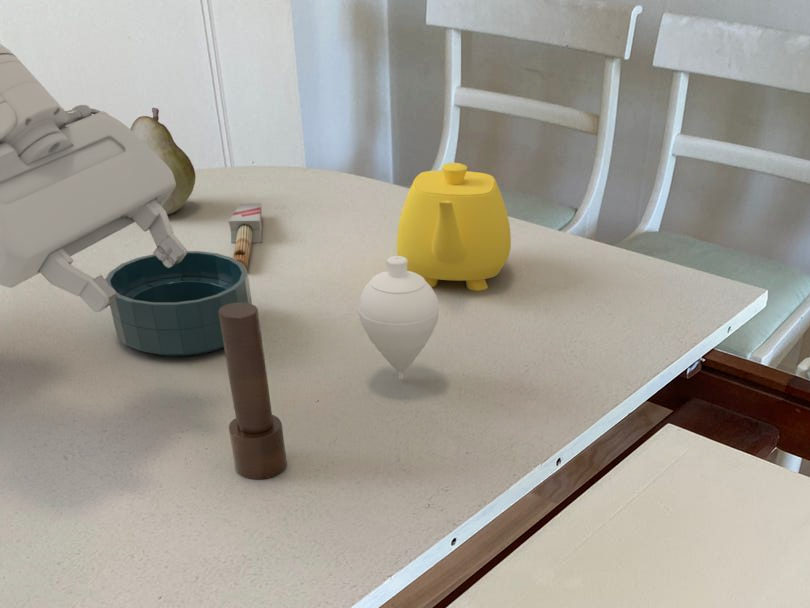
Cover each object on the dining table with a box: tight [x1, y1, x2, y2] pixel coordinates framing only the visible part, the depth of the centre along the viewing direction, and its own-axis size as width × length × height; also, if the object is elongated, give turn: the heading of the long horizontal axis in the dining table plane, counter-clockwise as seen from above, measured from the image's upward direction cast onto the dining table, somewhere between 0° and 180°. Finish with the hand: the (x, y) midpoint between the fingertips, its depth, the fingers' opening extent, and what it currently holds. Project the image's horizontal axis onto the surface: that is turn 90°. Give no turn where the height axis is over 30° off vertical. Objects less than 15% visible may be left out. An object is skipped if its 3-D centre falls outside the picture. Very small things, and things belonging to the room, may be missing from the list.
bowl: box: [104, 250, 253, 357], centre depth 102 cm, size 14×14×6 cm
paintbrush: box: [228, 202, 263, 270], centre depth 123 cm, size 4×3×20 cm
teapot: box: [396, 162, 512, 292], centre depth 113 cm, size 13×20×12 cm
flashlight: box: [219, 302, 288, 480], centre depth 80 cm, size 4×4×14 cm
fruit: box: [129, 107, 196, 215], centre depth 128 cm, size 10×9×12 cm
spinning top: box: [357, 255, 440, 381], centre depth 93 cm, size 8×8×12 cm
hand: (145, 281), depth 77 cm, fingers open, 8 cm apart
